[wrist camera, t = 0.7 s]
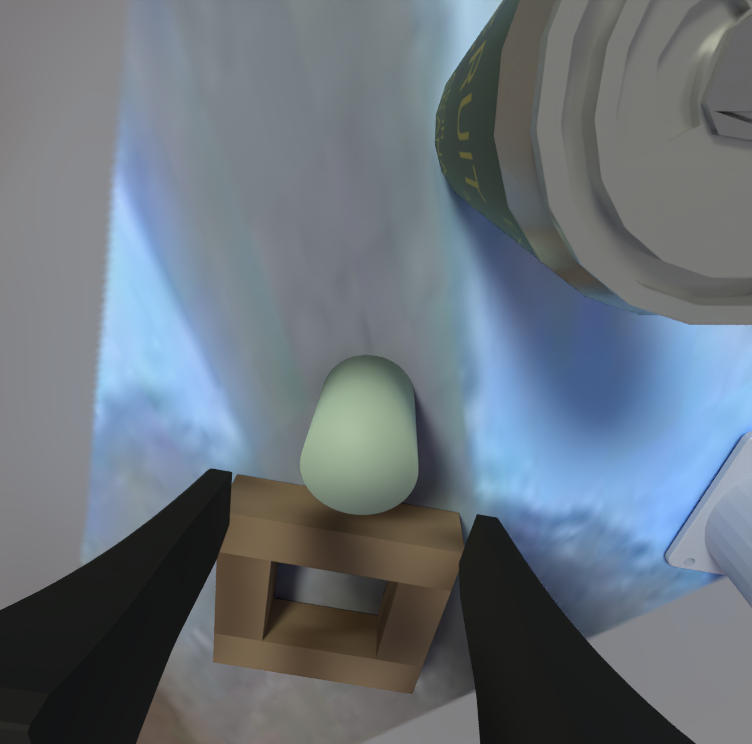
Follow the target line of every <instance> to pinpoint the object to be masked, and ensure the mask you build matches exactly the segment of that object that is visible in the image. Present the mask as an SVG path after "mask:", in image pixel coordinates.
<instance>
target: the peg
mask: <svg viewBox="0 0 752 744" xmlns="http://www.w3.org/2000/svg"><path fill="white" fill-rule="evenodd" d="M300 471H301V475H302V478H303V481H304V483H305V485H306V486H307V488H308V490H309V491H310V492H311V493H312V494H313V495H314V496H315V497H316V498H317V499H318V500H319V501H321V502H322V503H323V504H325V505H327V506H328V507H330V508H333V509H335V510H337V511H340V512H344V513H348V514H355V515H370V514H376V513H381V512H384V511H387V510H389V509H392V508H394V507H395V506H397V505H399V504H400V503H401V502H403V501H404V500H405V499H406V498H407V497H408V496H409V495H410V493H411V492H412V490H413V489H414V487H415V484H416V482H417V478H418V450H417V433H416V415H415V397H414V389H413V385H412V383H411V381H410V379H409V377H408V375H407V374H406V373H405V372H404V370H403V369H401V368H400V367H399V366H398V365H397V364H395V363H394V362H392V361H390V360H388V359H385V358H382V357H378V356H372V355H362V356H356V357H352V358H349V359H346V360H345V361H343V362H341V363H339V364H338V365H337V366H336V367H335V368H333V369H332V371H331V372H330V373H329V375H328V376H327V378H326V380H325V383H324V386H323V389H322V392H321V395H320V398H319V401H318V404H317V407H316V411H315V414H314V417H313V420H312V423H311V426H310V429H309V432H308V435H307V438H306V441H305V444H304V447H303V451H302V454H301V458H300Z"/></svg>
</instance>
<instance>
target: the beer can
mask: <svg viewBox="0 0 752 744" xmlns="http://www.w3.org/2000/svg"><path fill="white" fill-rule="evenodd" d="M435 147H436V151H437V155H438V159H439V163H440V166H441V170H442V173H443V174H444V176H445V177H446V179H447V181H448V182H449V184H450V185H451V187H452V189H453V190H454V192H455V193H456V194H457V195H458V196H459V197H461V198H462V199H463V200H464V201H466V202H467V203H468V204H469V205H471V206H472V207H473V208H474V209H476V210H477V211H478V212H479V213H481V214H482V215H483V216H484V217H486V218H487V219H488V220H489V221H491V222H492V223H493V224H494V225H496V226H497V227H498V228H499V229H501V230H502V231H503V232H504V233H506V234H507V235H508V236H509V237H511V238H512V239H513V240H514V241H516V242H517V243H518V244H519V245H521V246H522V247H523V248H525V249H526V250H527V251H528V252H530V253H531V254H532V255H533V256H535V257H536V258H537V259H538V260H540V261H541V262H542V263H543V264H545V265H546V266H547V267H548V268H550V269H551V270H552V271H553V272H555V273H556V274H557V275H558V276H560V277H561V278H562V279H563V280H565V281H566V282H567V283H568V284H570V285H571V286H572V287H573V288H575V289H576V290H577V291H579V292H580V293H581V294H582V295H584V296H585V297H588V298H591V299H594V300H597V301H600V302H603V303H606V304H609V305H612V306H615V307H618V308H621V309H624V310H627V311H630V312H633V313H636V314H639V315H662V316H665V317H668V318H671V319H674V320H677V321H680V322H683V323H686V324H689V325H752V0H503V1H502V2H501V4H500V5H499V7H498V8H497V10H496V11H495V13H494V14H493V16H492V17H491V18H490V20H489V21H488V23H487V24H486V26H485V27H484V29H483V30H482V31H481V33H480V34H479V36H478V37H477V39H476V40H475V42H474V43H473V45H472V46H471V47H470V49H469V50H468V52H467V53H466V55H465V56H464V58H463V59H462V61H461V62H460V64H459V65H458V67H457V68H456V70H455V71H454V73H453V74H452V76H451V77H450V79H449V80H448V82H447V83H446V85H445V89H444V92H443V95H442V98H441V101H440V104H439V107H438V110H437V113H436V130H435Z"/></svg>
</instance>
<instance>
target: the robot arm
mask: <svg viewBox="0 0 752 744" xmlns="http://www.w3.org/2000/svg"><path fill="white" fill-rule="evenodd" d="M231 484H232V472H229V471H223V470H217V469H209V470H208V471H206V472H205V473H204V474H203V475H202V476H201V477H200V478H199V479H198V480H196V481H195V482H194V483H193V484H192V485H191V486H190V487H189V488H188V489H186V490H185V491H184V492H183V493H182V494H181V495H179V496H178V497H177V498H176V499H175V500H174V501H172V502H171V503H170V504H169V505H168V506H166V507H165V508H164V509H163V510H161V511H160V512H159V513H158V514H157V515H155V516H154V517H153V518H152V519H150V520H149V521H148V522H146V523H145V524H144V525H142V526H141V527H140V528H138V529H137V530H136V531H134V532H133V533H132V534H130V535H129V536H128V537H126V538H125V539H123V540H122V541H121V542H119V543H118V544H116V545H115V546H113V547H112V548H110V549H109V550H107V551H106V552H104V553H103V554H101V555H100V556H98V557H97V558H95V559H94V560H92V561H90V562H89V563H87V564H86V565H84V566H82V567H81V568H79V569H77V570H75V571H74V572H72V573H70V574H69V575H67V576H65V577H63V578H62V579H60V580H58V581H57V582H55V583H53V584H51V585H49V586H47V587H46V588H44V589H42V590H40V591H38V592H36V593H34V594H32V595H30V596H28V597H26V598H24V599H22V600H20V601H18V602H16V603H14V604H12V605H10V606H8V607H6V608H4V609H2V610H0V744H136V742H137V739H138V736H139V734H140V731H141V728H142V726H143V723H144V720H145V718H146V715H147V713H148V710H149V707H150V705H151V702H152V699H153V697H154V694H155V692H156V689H157V686H158V684H159V681H160V679H161V676H162V674H163V671H164V669H165V666H166V664H167V661H168V659H169V656H170V654H171V651H172V649H173V647H174V645H175V642H176V640H177V638H178V636H179V634H180V632H181V630H182V628H183V626H184V624H185V622H186V620H187V618H188V616H189V614H190V612H191V610H192V608H193V606H194V604H195V602H196V600H197V598H198V596H199V594H200V592H201V590H202V588H203V586H204V584H205V582H206V580H207V578H208V576H209V574H210V572H211V570H212V568H213V566H214V564H215V562H216V560H217V557H218V555H219V552H220V549H221V547H222V544H223V541H224V539H225V536H226V533H227V530H228V527H229V525H230V505H231ZM665 558H666V560H667V561H668V563H669V564H670V565H672V566H675V567H680V568H686V569H692V570H698V571H703V572H709V573H715V574H721V575H726V576H728V577H729V578H730V580H731V581H732V582H733V584H734V585H735V586H736V587H737V589H738V590H739V591H740V593H741V594H742V595H743V597H744V598H745V599H746V600H747V602H748V603H749V604H750V606H751V607H752V431H750V432H748V433H746V434H745V435H744V436H743V437H742V438H741V439H740V441H739V442H738V444H737V445H736V447H735V449H734V450H733V452H732V453H731V455H730V456H729V458H728V459H727V461H726V462H725V464H724V465H723V467H722V468H721V470H720V471H719V473H718V474H717V476H716V477H715V479H714V480H713V482H712V484H711V485H710V487H709V488H708V490H707V491H706V493H705V494H704V496H703V497H702V499H701V500H700V502H699V503H698V505H697V506H696V508H695V509H694V511H693V512H692V514H691V515H690V517H689V519H688V520H687V522H686V523H685V525H684V526H683V528H682V529H681V531H680V532H679V534H678V535H677V537H676V538H675V540H674V541H673V543H672V544H671V546H670V547H669V549H668V550H667V552H666V554H665ZM459 581H460V598H461V605H462V611H463V617H464V623H465V629H466V635H467V640H468V646H469V652H470V658H471V664H472V670H473V675H474V682H475V689H476V697H477V707H478V721H479V733H480V744H695V743H694V742H693V741H692V740H691V739H689V738H688V737H687V736H686V735H684V734H683V733H682V732H681V731H680V730H678V729H677V728H676V727H675V726H674V725H672V724H671V723H670V722H669V721H668V720H667V719H666V718H664V717H663V716H662V715H661V714H660V713H659V712H658V711H657V710H656V709H654V708H653V707H652V706H651V705H650V704H649V703H648V702H647V701H646V700H644V699H643V698H642V697H641V696H640V695H639V694H638V693H637V692H636V691H635V690H634V689H633V688H632V687H631V686H630V685H629V684H628V683H627V682H626V681H625V680H624V679H623V678H622V677H621V676H620V675H619V674H618V673H617V672H616V671H615V670H614V669H613V668H612V667H611V666H610V665H609V664H608V663H607V662H606V661H605V660H604V659H603V658H602V657H601V656H600V655H599V654H598V653H597V652H596V650H595V649H594V648H593V647H592V646H591V645H590V644H589V643H588V641H587V640H586V639H585V638H584V637H583V636H582V635H581V633H580V632H579V631H578V630H577V629H576V628H575V627H574V625H573V624H572V623H571V622H570V621H569V619H568V618H567V617H566V616H565V614H564V613H563V612H562V611H561V609H560V608H559V607H558V605H557V604H556V603H555V601H554V600H553V599H552V598H551V596H550V595H549V594H548V592H547V591H546V590H545V588H544V587H543V585H542V584H541V583H540V581H539V580H538V578H537V577H536V575H535V574H534V573H533V571H532V570H531V568H530V567H529V565H528V564H527V562H526V561H525V559H524V558H523V556H522V555H521V553H520V552H519V550H518V549H517V547H516V546H515V544H514V543H513V541H512V539H511V538H510V536H509V535H508V533H507V532H506V530H505V529H504V527H503V526H502V524H501V522H500V521H499V519H498V518H496V517H490V516H484V515H479V514H477V516H476V518H475V521H474V524H473V526H472V529H471V532H470V534H469V537H468V540H467V542H466V545H465V548H464V550H463V553H462V556H461V558H460V561H459Z"/></svg>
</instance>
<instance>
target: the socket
mask: <svg viewBox="0 0 752 744" xmlns="http://www.w3.org/2000/svg"><path fill="white" fill-rule="evenodd" d="M463 550H464V542H463V536H462V529H461V523H460V517H459V513H456V512H450V511H444V510H438V509H433V508H427V507H421V506H416V505H410V504H404V503H400V504H399V505H397V506H395V507H394V508H392V509H389V510H387V511H384V512H381V513H376V514H370V515H355V514H348V513H344V512H340V511H337V510H335V509H333V508H330V507H328V506H327V505H325V504H323V503H322V502H321V501H319V500H318V499H317V498H316V497H315V496H314V495H313V494H312V493H311V492H310V491H309V490H308V488H307V486H301V485H295V484H290V483H284V482H278V481H273V480H267V479H261V478H255V477H250V476H244V475H238V474H237V475H236V477H235V479H234V481H233V483H232V485H231V505H230V525H229V527H228V530H227V533H226V536H225V539H224V541H223V544H222V547H221V549H220V552H219V555H218V557H217V567H216V596H215V626H214V655H213V662H215V663H221V664H228V665H234V666H240V667H247V668H253V669H259V670H265V671H272V672H278V673H284V674H290V675H297V676H303V677H309V678H316V679H322V680H328V681H334V682H341V683H347V684H353V685H359V686H366V687H372V688H378V689H385V690H391V691H397V692H403V693H410V694H412V693H413V690H414V688H415V685H416V683H417V680H418V677H419V675H420V672H421V669H422V667H423V664H424V661H425V659H426V656H427V654H428V651H429V648H430V646H431V643H432V640H433V638H434V635H435V632H436V630H437V627H438V625H439V622H440V619H441V617H442V614H443V611H444V609H445V606H446V603H447V601H448V598H449V596H450V593H451V590H452V588H453V585H454V582H455V580H456V577H457V574H458V572H459V561H460V558H461V556H462V553H463ZM279 562H281V563H287V564H293V565H299V566H305V567H310V568H316V569H322V570H328V571H334V572H340V573H346V574H352V575H358V576H364V577H370V578H376V579H382V580H388V581H387V585H386V588H385V592H384V595H383V599H382V602H381V606H380V610H379V613H378V615H372V614H366V613H360V612H354V611H348V610H341V609H335V608H329V607H323V606H317V605H311V604H305V603H299V602H293V601H287V600H281V599H275V598H274V596H275V588H276V579H277V571H278V563H279Z"/></svg>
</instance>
